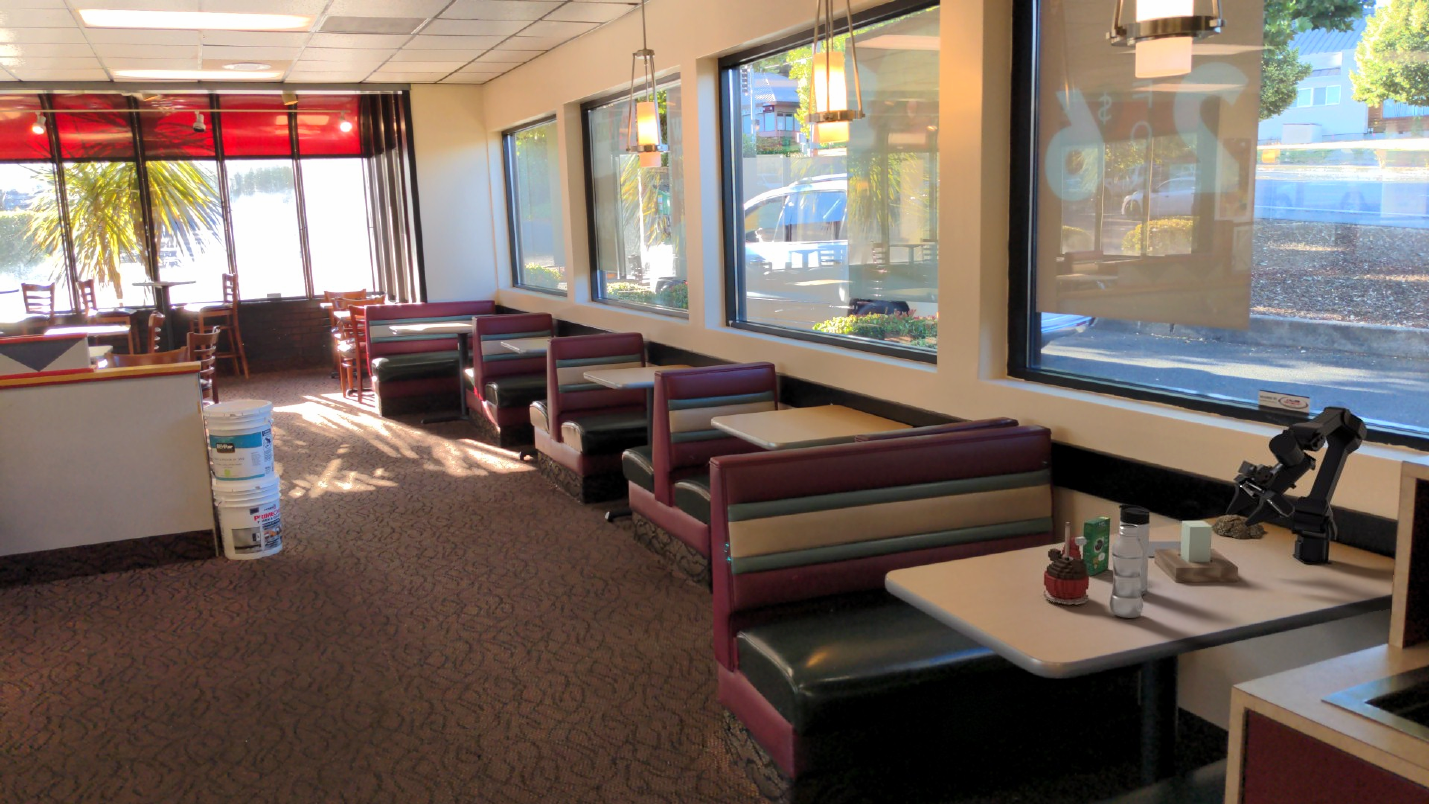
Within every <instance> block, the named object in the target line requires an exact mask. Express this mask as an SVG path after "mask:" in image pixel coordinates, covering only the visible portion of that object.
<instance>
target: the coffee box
mask: <svg viewBox="0 0 1429 804" xmlns="http://www.w3.org/2000/svg"><path fill="white" fill-rule="evenodd" d="M1082 530H1083V534H1082V537H1085V539H1086V544H1085V545H1082V554H1081V559H1084V562H1085V563H1086V570H1087V574H1088V575H1090V576H1093V575H1094V576H1095V575H1097V574H1098V573H1099V574H1100V573H1101V572H1105V571H1106V570H1109V562H1110V561H1109V559H1110V558H1109V557H1110V535H1111V534H1110V531H1111V517H1108V516H1102V515H1101V516H1097V517H1094V518H1092V519H1089V520H1085V521H1083V529H1082ZM1090 576H1089V577H1090Z"/></svg>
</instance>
